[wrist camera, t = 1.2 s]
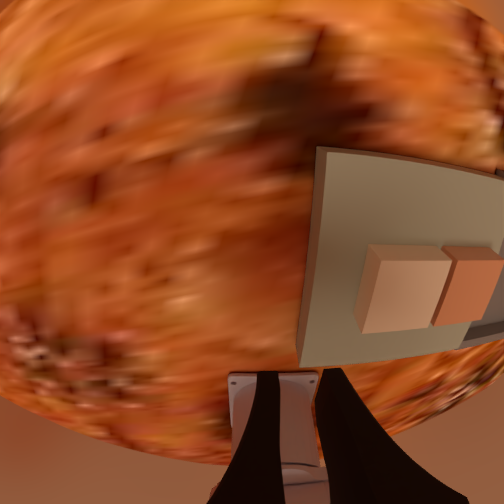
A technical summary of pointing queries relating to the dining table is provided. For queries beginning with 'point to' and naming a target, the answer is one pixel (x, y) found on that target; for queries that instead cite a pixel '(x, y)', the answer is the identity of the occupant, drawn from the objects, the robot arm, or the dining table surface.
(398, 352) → the beige square slab
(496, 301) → the box
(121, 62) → the dining table surface
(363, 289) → the cream tile
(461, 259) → the terracotta tile
